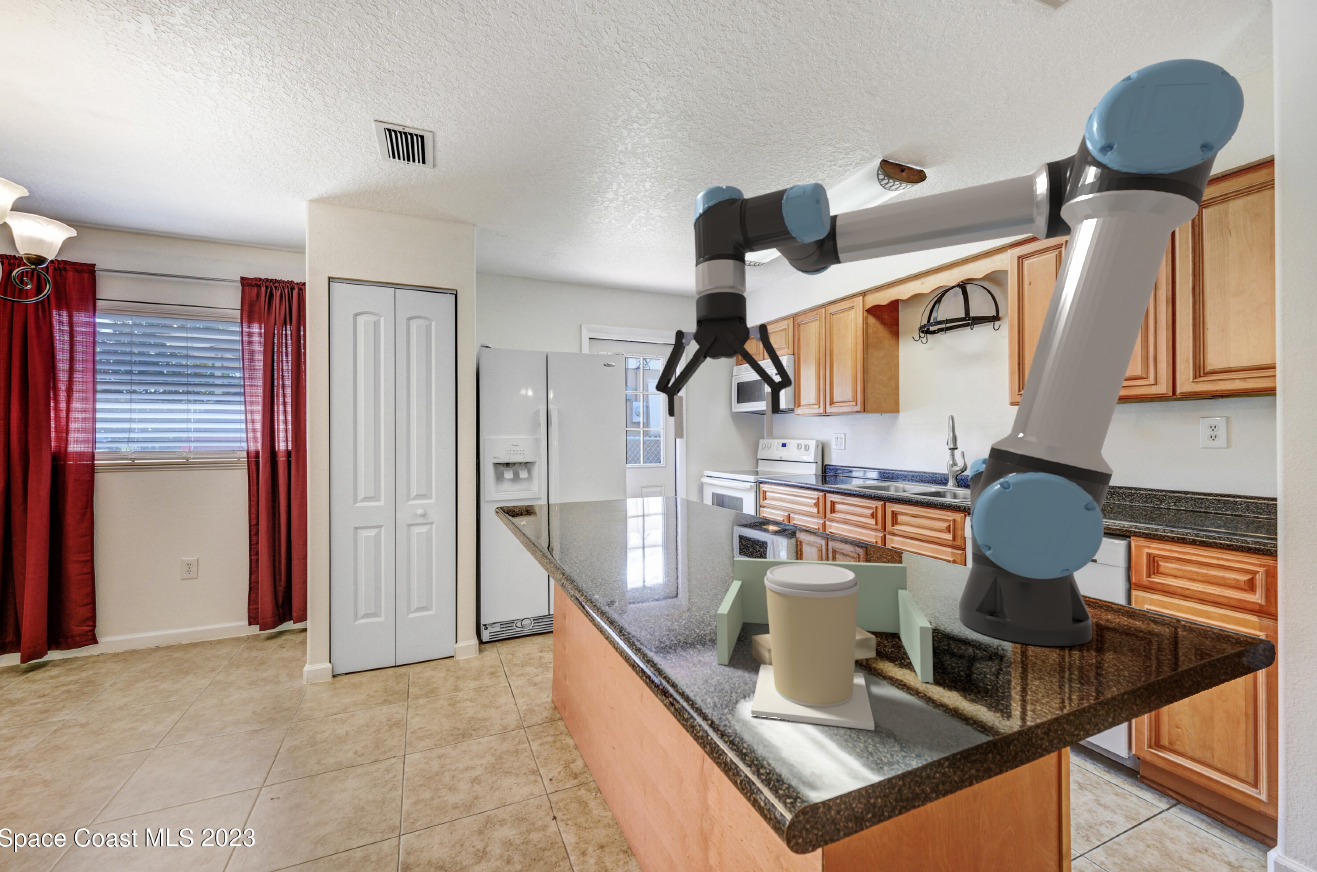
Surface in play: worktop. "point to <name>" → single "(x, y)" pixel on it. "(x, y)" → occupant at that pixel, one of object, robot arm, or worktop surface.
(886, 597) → the screen
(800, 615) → the coffee cup
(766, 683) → the white square tile
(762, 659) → the birch offcut
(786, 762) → the worktop surface
